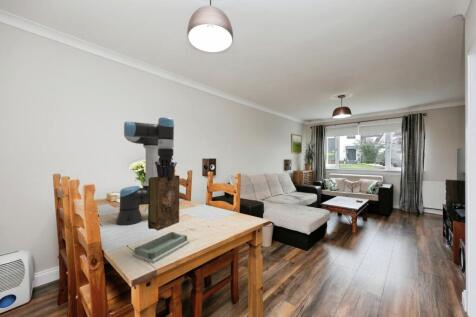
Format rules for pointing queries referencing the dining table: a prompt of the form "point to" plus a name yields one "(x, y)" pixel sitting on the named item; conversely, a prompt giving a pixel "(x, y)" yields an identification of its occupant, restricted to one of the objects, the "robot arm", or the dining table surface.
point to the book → (163, 202)
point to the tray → (161, 247)
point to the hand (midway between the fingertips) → (165, 194)
